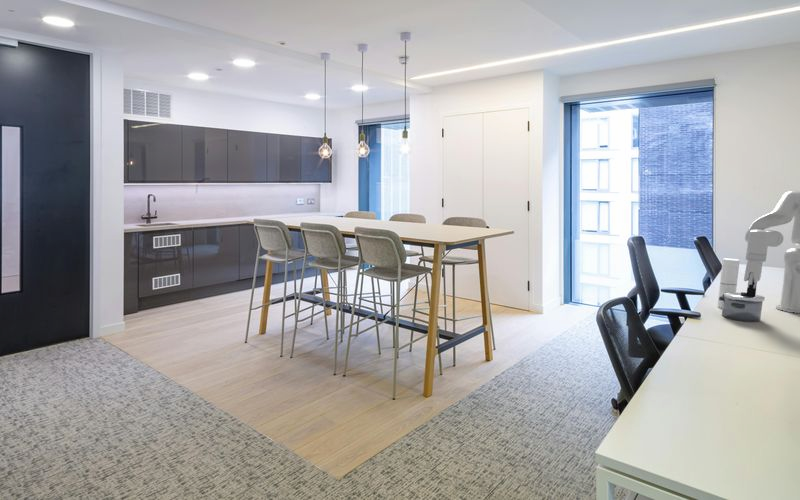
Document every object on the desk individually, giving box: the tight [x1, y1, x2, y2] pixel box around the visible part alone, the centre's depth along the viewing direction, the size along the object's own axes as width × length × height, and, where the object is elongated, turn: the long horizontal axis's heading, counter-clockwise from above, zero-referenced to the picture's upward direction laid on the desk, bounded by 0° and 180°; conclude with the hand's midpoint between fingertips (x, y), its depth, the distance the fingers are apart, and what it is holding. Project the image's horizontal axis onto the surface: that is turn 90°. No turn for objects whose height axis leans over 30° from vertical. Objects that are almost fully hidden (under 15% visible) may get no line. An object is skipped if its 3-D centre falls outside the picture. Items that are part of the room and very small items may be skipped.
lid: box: [723, 291, 765, 302], centre depth 230 cm, size 16×16×3 cm
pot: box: [718, 295, 764, 323], centre depth 232 cm, size 20×16×9 cm
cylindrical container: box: [717, 257, 741, 309], centre depth 250 cm, size 7×7×25 cm
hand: (750, 296), depth 228 cm, fingers closed
